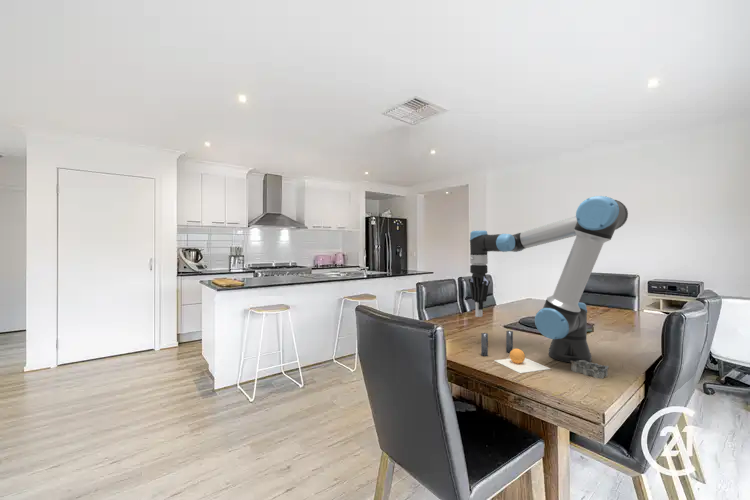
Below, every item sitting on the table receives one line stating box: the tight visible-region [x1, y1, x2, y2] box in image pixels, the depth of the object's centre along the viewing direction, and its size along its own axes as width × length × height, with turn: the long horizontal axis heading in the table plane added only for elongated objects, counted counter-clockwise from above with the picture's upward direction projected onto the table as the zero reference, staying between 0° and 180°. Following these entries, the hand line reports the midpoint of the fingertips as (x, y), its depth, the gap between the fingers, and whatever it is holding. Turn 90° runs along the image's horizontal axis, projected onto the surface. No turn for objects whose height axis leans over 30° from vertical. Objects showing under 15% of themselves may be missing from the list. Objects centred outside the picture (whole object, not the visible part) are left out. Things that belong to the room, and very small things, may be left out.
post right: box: [505, 330, 514, 354], centre depth 144 cm, size 3×3×9 cm
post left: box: [480, 332, 489, 357], centre depth 140 cm, size 3×3×9 cm
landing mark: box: [493, 357, 552, 374], centre depth 129 cm, size 14×14×1 cm
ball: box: [509, 348, 526, 364], centre depth 130 cm, size 6×6×6 cm
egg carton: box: [570, 360, 610, 379], centre depth 121 cm, size 11×8×4 cm
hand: (479, 316), depth 154 cm, fingers closed
